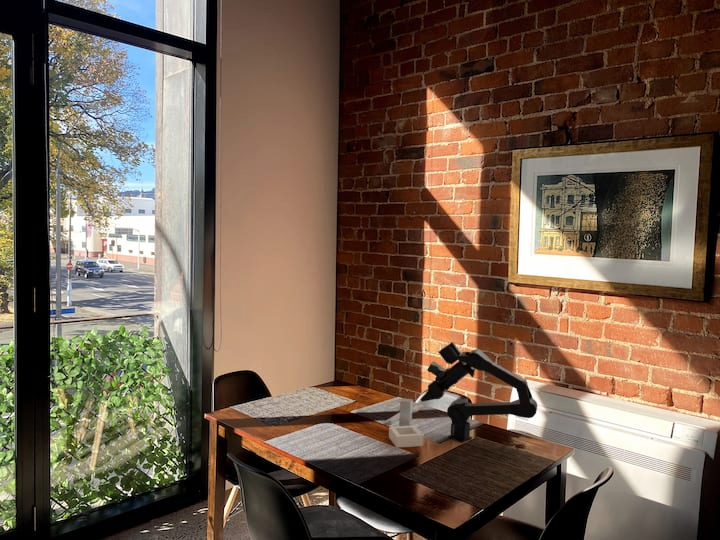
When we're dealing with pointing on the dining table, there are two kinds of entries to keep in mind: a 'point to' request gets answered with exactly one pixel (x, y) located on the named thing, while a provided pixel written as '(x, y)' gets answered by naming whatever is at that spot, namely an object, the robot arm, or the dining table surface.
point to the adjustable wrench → (398, 417)
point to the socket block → (406, 436)
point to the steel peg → (406, 412)
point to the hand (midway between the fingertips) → (424, 397)
